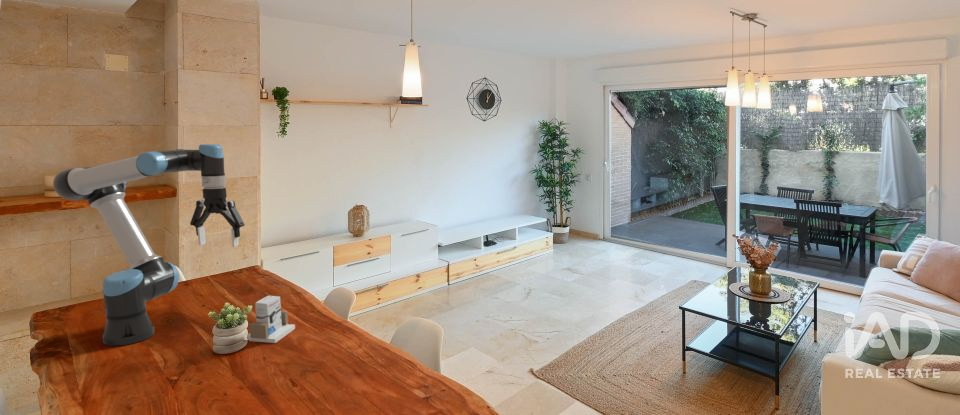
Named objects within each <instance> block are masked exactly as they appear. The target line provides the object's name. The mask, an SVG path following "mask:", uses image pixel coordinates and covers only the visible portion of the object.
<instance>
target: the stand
mask: <svg viewBox="0 0 960 415" xmlns="http://www.w3.org/2000/svg"><path fill="white" fill-rule="evenodd" d="M281 320H282V327H280V328H279V329H277V330H276V331H274V332H273V333H272V334H270V335H269V332H268V324H267V323H257V322H251V323H250V324H249V333H247V334H248V336H247V339H248V340H249V341H248V342H256V343H257V342H258V343H270V344H275V343H278V342H279V341H280V340H282V339H283V338H284V337H285V336H287V335H288V334H290V333H291V332H292V331H294V330H295V329H296V324H291V323H290V324H289V313H288V310H282V309H281Z"/></svg>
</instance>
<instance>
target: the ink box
mask: <svg viewBox="0 0 960 415" xmlns="http://www.w3.org/2000/svg"><path fill="white" fill-rule="evenodd" d="M254 304H255V305H254V306H255V320H256V322H255V323H267V324H268V332H269V335H270V334H272V333H273V332H274V331H276V330H277V329H279V328H280V327H282V320H281V310H282V309H281V308H282V305H281V296H278V295H267V296H265V297H263V298H260V299H259V300H258V301H256V302H255V303H254Z"/></svg>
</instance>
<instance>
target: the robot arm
mask: <svg viewBox="0 0 960 415" xmlns="http://www.w3.org/2000/svg"><path fill="white" fill-rule="evenodd" d="M223 149H224V148H223V145H222V144H217V143H216V144H215V143H211V144H210V143H205V144H202V143H201V144H199V145H198V149H184V148H183V149H182V148H178V149H171V150H157V151H156V150H151V151H149V150H148V151H145V152H142V153H140V154H139V155H136V156H132V157H128V158H122V159H119V160H116V161H112V162H107V163H104V164H101V165H100V164H99V165H95V166H84V167H73V168H72V167H71V168H66V169H63V170H61V171H60V172H58V173H57V174H56V175H55V176H54V178H53V181H52V182H53V183H52V186H53V189H54V192H55V193H56V194H57V195H58V196H59V197H61V198H62V199H63V200H64V199H65V200H68V201H76V202H77V201H78V202H79V201H85V200H86V202H87V203H88V205H89V206H90V208H93V209H97V210H98V213H100V215H101V217H102V219H103V221H104V222H105V224H106V226H107V227H108V229H109V232H111V235H112V236H113V238H114V240H115V242H116V243H117V244H118V246H119V248H120V250H121V252H122V254H123V255H124V257H125V259H126V260H127V262H128V263H129V265H130V266H129V268H128V269H124V270H122V271H121V270H120V271H117V272H113V273H112V274H110V275H108V276H106V277H104V279H103V280H102V295H103V301H104V307H105V309H104V310H105V316H106V322H105V326H104V332H103V333H102V343H103V344H104V345H106V346H108V347H109V346H110V347H113V346H114V347H116V346H126V345H131V344H135V343H140V342H142V341H145V340H147V339H149V338H151V337H153V335H154V334H155V327H154V326H155V325H154V324H153V323H152V320H151V318H150V317H149V315H148V313H147V303H146V302H149V301H151V300H154V299H156V298H159V297H162V296H164V295H167V294H168V293H170V292H172V291H174V290H175V289H176V288H177V286H178V284H179V280H180V274H179V270H178V268H177V267H176V266H175V264H174V263H171V262H168V261H165V260H164V258H163V256H161V255H158V254H156V253H155V252H154V250H153V248H152V246H151V245H150V243H149V241H148V239H147V238H146V236H145V235H144V233H143V231H142V229H141V227H140V225H139V224H138V222H137V221H136V219H135V217H134V215H133V214H132V212H131V210H130V209H129V206H128V205H127V203H126V201H125V197H126V192H125V191H126V188H127V185H126V184H127V183H128V182H132V181H136V180H140V179H145V178H148V177H153V176H157V175H162V174H168V173H178V172H187V171H188V172H190V171H193V172H194V171H195V172H197V171H199V172H200V177H201V187H203V188H202V198H203V199H199V200H196V202H195V209H194V212H193V214H192V218H191V220H190V222H189V225H190V226H194V227H195V232H196V236H198V237H197V240H198V246H202V245H205V244H207V239H206V229H205V228H206V227H205V226H204V223H205V222H206V221H207V219H208V218H209V216H210V215H211V214H217V215H218V214H220V215H221V216H222V217H223V218H224V219H225V220H226V222H227V223H228V224H229V225H230V226H231V227H232V228H231V229H230V233H231V247H232V248H235V247H238V246H240V242H239V240H240V239H239V237H241V231H240V228H242V227H244V226H245V223H244V221H243V218H242V216H241V215H240V213H239V211H238V209H237V207H236V203H235V202H236V201H234V200H230V201H227V196H228V195H227V188H226V186H227V184H226V182H227V180H226V173H225V155H224V151H223Z"/></svg>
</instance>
